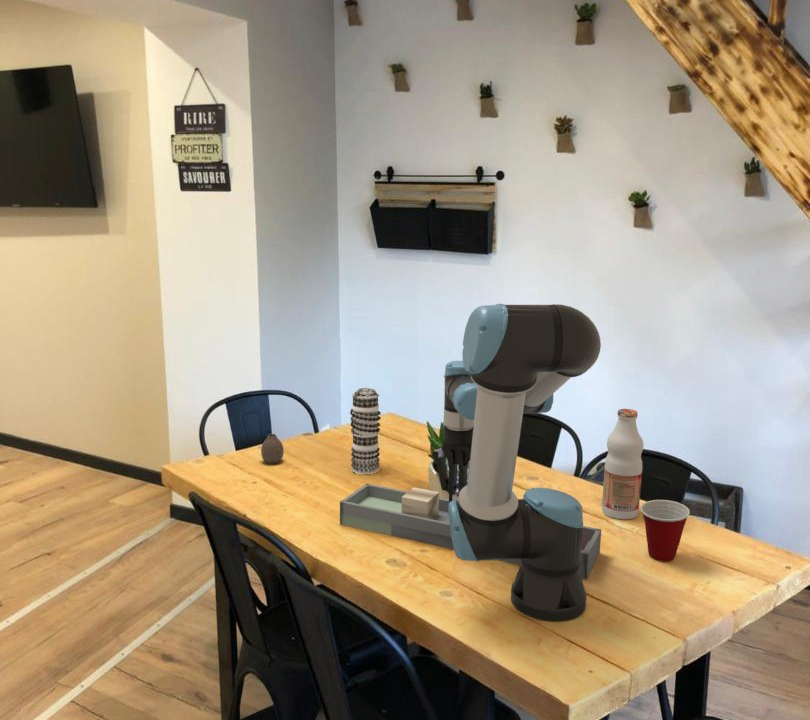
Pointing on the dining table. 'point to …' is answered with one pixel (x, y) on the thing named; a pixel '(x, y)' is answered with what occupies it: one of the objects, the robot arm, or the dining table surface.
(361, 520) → the tray
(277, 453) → the vase
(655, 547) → the plastic cup
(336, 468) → the dining table surface
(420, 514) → the beech block
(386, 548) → the dining table surface
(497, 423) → the robot arm
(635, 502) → the fruit juice
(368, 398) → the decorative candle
